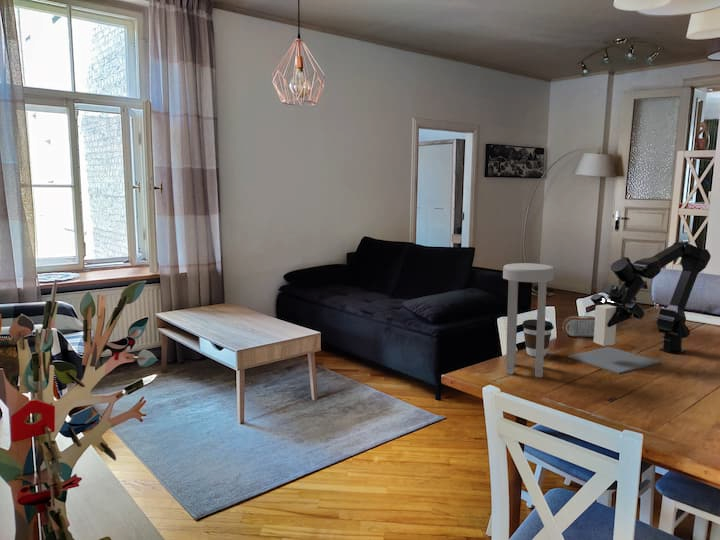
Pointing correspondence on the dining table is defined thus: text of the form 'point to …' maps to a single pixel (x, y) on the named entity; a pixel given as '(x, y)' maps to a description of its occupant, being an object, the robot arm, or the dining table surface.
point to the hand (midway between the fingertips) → (602, 324)
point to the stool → (515, 275)
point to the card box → (604, 325)
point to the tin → (579, 326)
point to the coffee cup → (531, 332)
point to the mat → (613, 360)
